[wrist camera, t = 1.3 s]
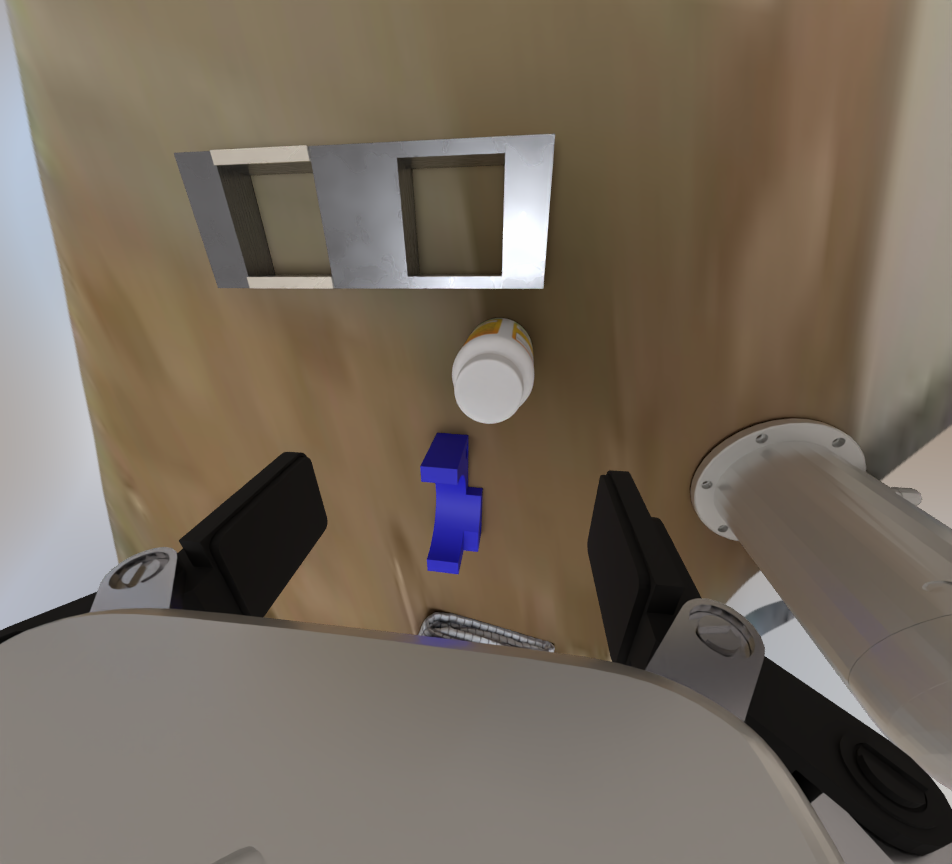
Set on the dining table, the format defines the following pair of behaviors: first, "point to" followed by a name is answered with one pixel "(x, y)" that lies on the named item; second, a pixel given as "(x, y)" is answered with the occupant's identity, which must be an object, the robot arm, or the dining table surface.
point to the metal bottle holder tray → (368, 210)
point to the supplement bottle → (494, 371)
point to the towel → (478, 632)
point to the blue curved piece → (452, 502)
